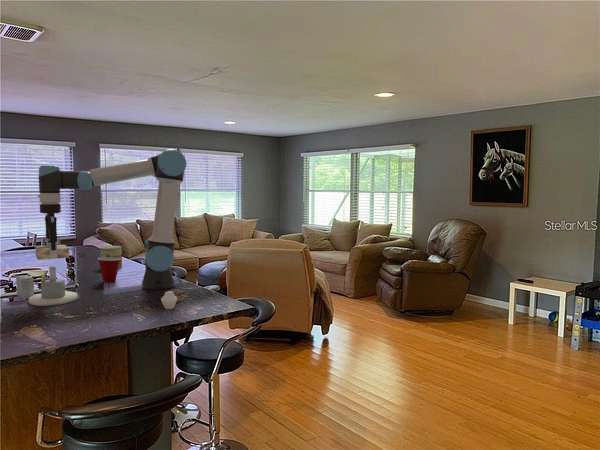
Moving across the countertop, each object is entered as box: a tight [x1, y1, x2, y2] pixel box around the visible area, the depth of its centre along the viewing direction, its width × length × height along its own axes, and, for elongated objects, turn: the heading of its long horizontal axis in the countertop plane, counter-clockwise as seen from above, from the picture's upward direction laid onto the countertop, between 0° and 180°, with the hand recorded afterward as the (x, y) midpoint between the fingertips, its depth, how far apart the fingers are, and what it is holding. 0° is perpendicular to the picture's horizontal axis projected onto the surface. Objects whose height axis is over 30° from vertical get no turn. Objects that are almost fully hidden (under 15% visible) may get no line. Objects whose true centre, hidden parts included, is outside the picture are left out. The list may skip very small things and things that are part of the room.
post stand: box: [27, 265, 78, 307], centre depth 186 cm, size 18×18×14 cm
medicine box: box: [15, 274, 35, 300], centre depth 191 cm, size 8×4×9 cm, turn 47°
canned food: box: [100, 245, 123, 270], centre depth 258 cm, size 11×11×12 cm
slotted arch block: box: [35, 244, 70, 261], centre depth 185 cm, size 11×11×4 cm
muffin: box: [160, 290, 178, 310], centre depth 178 cm, size 6×6×7 cm
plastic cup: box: [97, 257, 121, 284], centre depth 222 cm, size 11×11×12 cm
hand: (51, 256), depth 185 cm, fingers closed on slotted arch block, 11 cm apart
